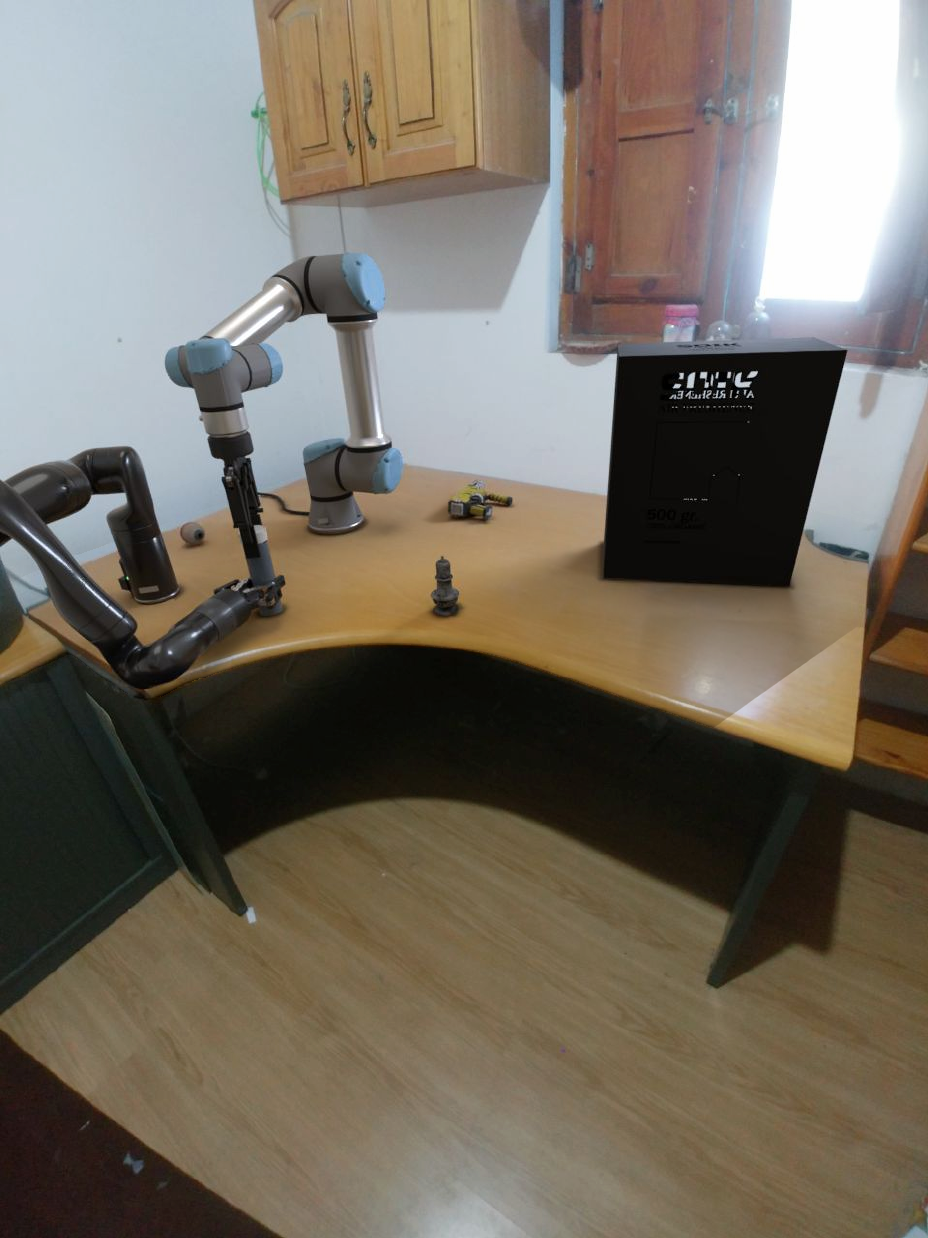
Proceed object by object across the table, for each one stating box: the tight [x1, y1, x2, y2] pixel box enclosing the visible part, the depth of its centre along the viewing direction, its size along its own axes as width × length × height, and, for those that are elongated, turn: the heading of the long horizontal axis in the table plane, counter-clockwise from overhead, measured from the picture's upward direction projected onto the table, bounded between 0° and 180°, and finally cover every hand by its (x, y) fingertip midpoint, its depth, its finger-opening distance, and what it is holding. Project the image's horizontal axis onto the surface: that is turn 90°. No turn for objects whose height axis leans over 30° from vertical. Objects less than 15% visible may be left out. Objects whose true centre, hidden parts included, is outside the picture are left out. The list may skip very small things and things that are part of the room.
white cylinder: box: [237, 524, 269, 545], centre depth 119 cm, size 5×5×2 cm
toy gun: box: [447, 479, 514, 521], centre depth 175 cm, size 5×24×15 cm
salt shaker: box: [430, 555, 461, 616], centre depth 121 cm, size 6×6×12 cm
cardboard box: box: [602, 336, 849, 588], centre depth 126 cm, size 38×20×45 cm, turn 78°
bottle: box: [241, 539, 284, 617], centre depth 123 cm, size 5×5×18 cm
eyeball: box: [179, 521, 206, 546], centre depth 161 cm, size 6×6×6 cm
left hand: (271, 577), depth 126 cm, fingers closed on bottle, 5 cm apart
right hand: (256, 550), depth 121 cm, fingers closed on white cylinder, 5 cm apart
